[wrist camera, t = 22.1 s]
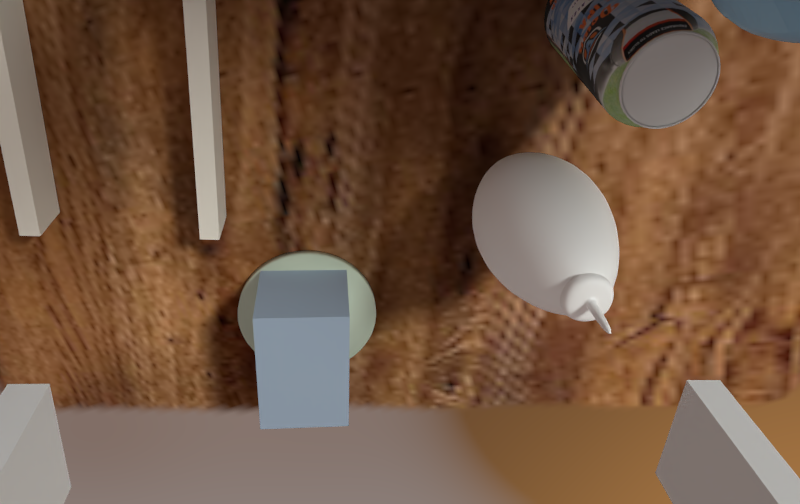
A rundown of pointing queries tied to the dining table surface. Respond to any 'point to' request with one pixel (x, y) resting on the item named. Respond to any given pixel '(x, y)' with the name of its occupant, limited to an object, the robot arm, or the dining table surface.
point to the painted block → (302, 348)
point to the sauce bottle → (548, 235)
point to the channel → (26, 137)
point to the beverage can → (637, 56)
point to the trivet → (358, 285)
